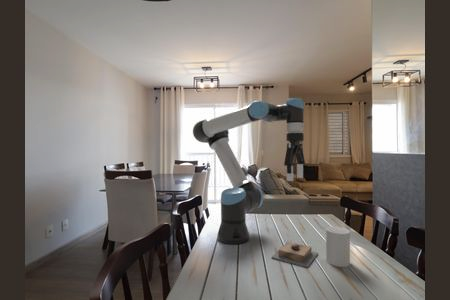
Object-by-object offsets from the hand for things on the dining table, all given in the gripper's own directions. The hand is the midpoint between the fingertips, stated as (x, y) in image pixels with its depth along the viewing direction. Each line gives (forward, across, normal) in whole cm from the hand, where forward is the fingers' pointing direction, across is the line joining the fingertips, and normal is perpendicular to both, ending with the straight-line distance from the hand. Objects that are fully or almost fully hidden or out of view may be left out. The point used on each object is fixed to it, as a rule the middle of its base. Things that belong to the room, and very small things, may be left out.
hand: (295, 179), depth 116 cm
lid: (+28, -15, -5) cm, 32 cm away
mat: (+29, -15, -5) cm, 33 cm away
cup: (+29, -11, -20) cm, 37 cm away
